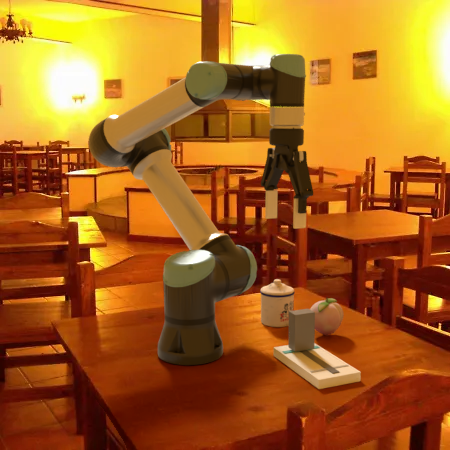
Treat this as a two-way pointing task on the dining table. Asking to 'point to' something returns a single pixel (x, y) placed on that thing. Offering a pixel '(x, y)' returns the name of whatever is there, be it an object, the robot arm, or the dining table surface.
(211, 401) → the dining table surface
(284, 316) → the teacup with lid
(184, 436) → the dining table surface
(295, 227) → the robot arm
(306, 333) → the fader tab
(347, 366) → the slider console
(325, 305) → the decorative fruit
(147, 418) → the dining table surface
